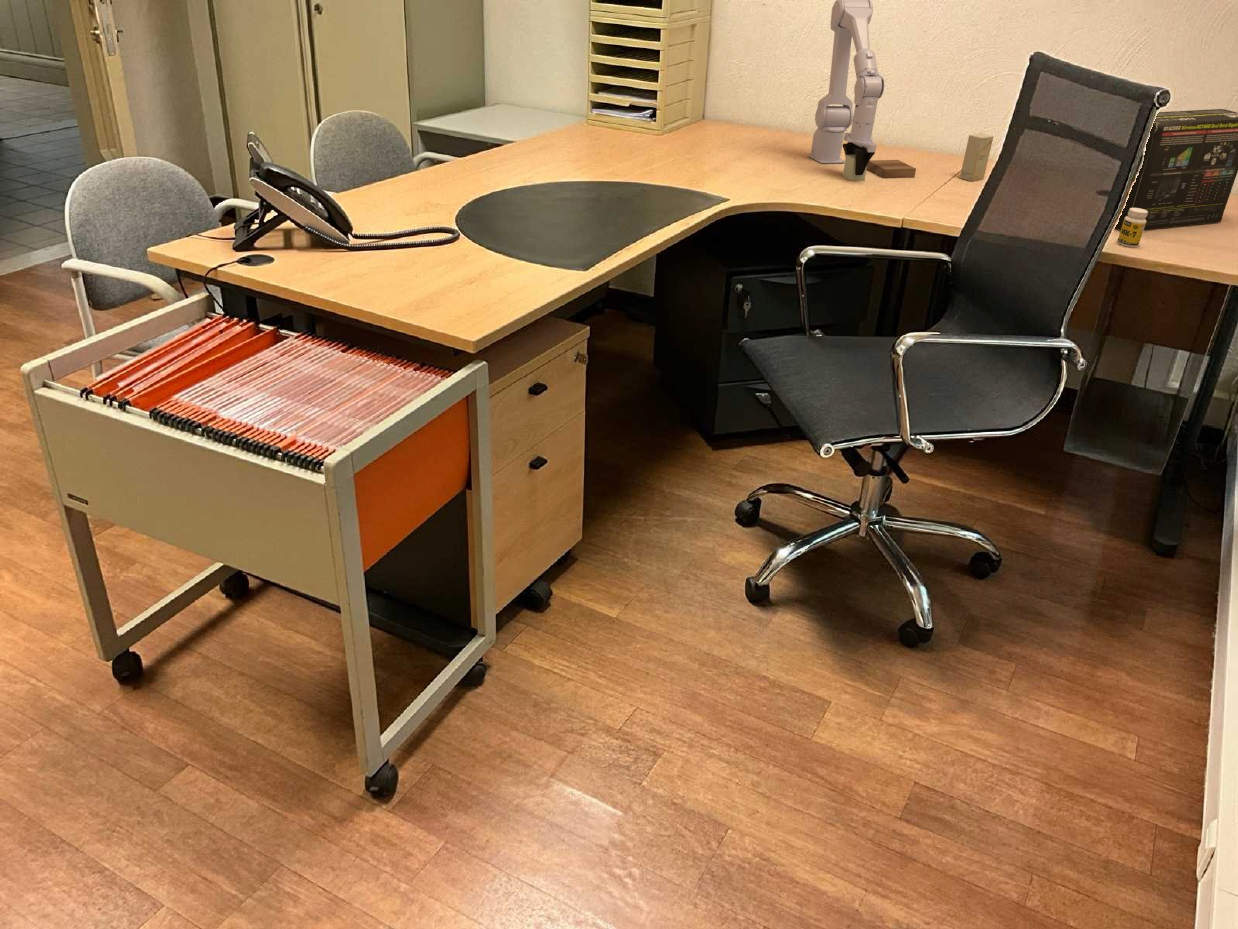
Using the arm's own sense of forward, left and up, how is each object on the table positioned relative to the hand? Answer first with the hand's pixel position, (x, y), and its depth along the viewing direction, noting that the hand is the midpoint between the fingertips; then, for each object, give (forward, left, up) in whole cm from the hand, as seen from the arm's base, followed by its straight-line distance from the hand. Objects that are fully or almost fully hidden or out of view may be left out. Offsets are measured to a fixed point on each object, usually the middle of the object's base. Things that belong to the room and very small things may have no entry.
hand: (854, 172), depth 277 cm
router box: (+49, +62, -2) cm, 78 cm away
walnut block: (-4, +14, -2) cm, 15 cm away
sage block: (0, 0, -2) cm, 2 cm away
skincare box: (+4, +36, -2) cm, 36 cm away
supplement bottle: (+64, +39, -2) cm, 75 cm away
